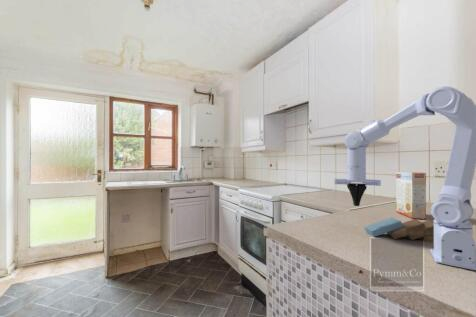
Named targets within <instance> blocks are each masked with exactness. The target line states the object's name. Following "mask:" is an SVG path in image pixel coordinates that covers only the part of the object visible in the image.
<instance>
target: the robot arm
mask: <svg viewBox="0 0 476 317" xmlns="http://www.w3.org/2000/svg"><path fill="white" fill-rule="evenodd" d="M436 113H438V114H439V115H442V116H444V117H446V119H448V120H449V121H450V122H452V123H453V124H455V131H454V134H453V140H452V144H451V147H450V148H451V149H450V153H449V159H448V161H447V162H448V163H447V168H446V173H445V177H444V180H443V181H444V183H443V186H442V188H441V190H440V191H439V194H438V196H437V197H438V198H437V200H436V201H435V202H434V203H432V205H431V207H430V213H431V216H432V217H433V221H434V242H433V248H430V249H429V252H430V254H431V256H432V258H433V260H434V262H435V263H437V264H442V265H447V266H452V267H458V268H461V269H468V270H472V271H476V241H475V240H474V236H473V234H474V233H473V231H474V229H473V228H474V227H473V224H472V222H471V221H470V220H469V219H470V218H472V216H473V215H474V207H473V205H472V202H471V199H472V191H471V188H472V184H473V178H474V175H475V171H476V104H475V102H474V100H473V99H472V98H470V97H468V96H467V95H466V94H465V93H464V92H462V91H460V90H458V89H457V88H454V87H452V86H446V85H445V86H441V87H437V88H435V89H433V90H432V91H430V93H429V92H428V93H425V94H423V95H422V96H420V97H419V98H418V99H417V100H415V101H413V102H411V103H410V104H408V105H406V106H405V107H403V108H402V109H400V110H399V111H397V112H395V113H394V114H393V115H391V116H389V117H387V118H386V119H376V120H375V119H373V120H371V121H370V123H369V124H368V125H366V126H363V127H362V128H359V129H357V131H356V132H355V131H350V132H348V134H346V135H345V137H344V140H343V143H344V145H345V147H346V148H347V156H346V159H347V163H346V164H347V173H346V174H347V176H346V178H333V185H346V186H347V189H348V190H349V193H350V195H351V199H352V203H353V204H352V205H353V206H355V207H360V205H361V201H362V198H363V195H364V194H365V191H367V186H377V187H381V185H382V181H381V179H367V178H366V177H367V167H366V166H367V163H366V162H367V161H366V160H367V148H368V147H369V145H370V144H373V143H374V142H377V141H378V140H380V139H382V138H384V137H386V136H388V135H389V134H390V131H391V129H394V128H395V127H398V126H401V125H402V124H404V123H406V122H408V121H410V120H413V119H415V118H417V117H419V116H436Z"/></svg>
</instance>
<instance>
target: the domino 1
mask: <svg viewBox="0 0 476 317" xmlns="http://www.w3.org/2000/svg"><path fill="white" fill-rule="evenodd" d="M402 223H403V222H402V221H401V220H398V219H396V218H393V217H390V218H386V219H384V220H381V221H378V222H375V223H372V224H370V225H369V224H368V225H366V226H364V229H365V231H366V234H368V235H370V236H372V237H373V238H376V237H377V236H378V237H379V236H380V235H381V236H382V235H383V234H387V232H390V231H393V230H396V229H399V228H402V227H403V225H402Z"/></svg>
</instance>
